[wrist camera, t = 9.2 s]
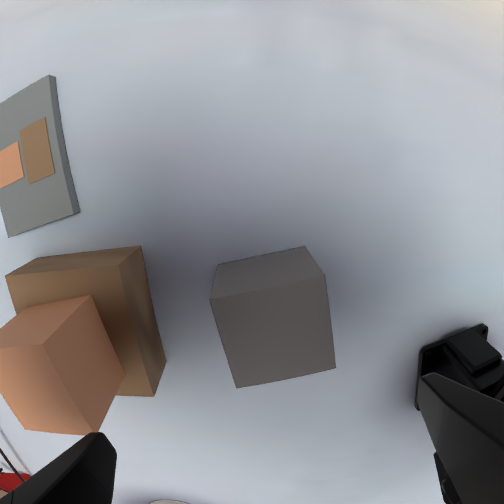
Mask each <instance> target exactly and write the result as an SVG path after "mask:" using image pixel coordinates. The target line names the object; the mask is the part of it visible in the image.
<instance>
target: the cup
mask: <svg viewBox="0 0 504 504" xmlns="http://www.w3.org/2000/svg"><path fill="white" fill-rule="evenodd" d="M150 504H188V503H184V502H180V501H173V500H157V501H154V502H151V503H150Z"/></svg>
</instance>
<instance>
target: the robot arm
mask: <svg viewBox="0 0 504 504" xmlns="http://www.w3.org/2000/svg"><path fill="white" fill-rule="evenodd" d="M487 335H488V327H487V326H486V325H485V324H481V325H479V326H477V327H474V328H472V329H470V330H467V331H465V332H462V333H460V334H457V335H455V336H452V337H450V338H447V339H444V340H442V341H439V342H436V343H434V344H431V345H428V346H426V347H424V348H423V349H422V350H421V351H420V359H419V371H418V382H417V391H416V400H415V407H416V409H417V410H418V411H421V413H422V416H423V418H424V421H425V423H426V426H427V429H428V431H429V434H430V436H431V439H432V442H433V444H434V447H435V449H436V452H435V453H434V459H435V463H436V468H437V472H438V477H439V482H440V486H441V491H442V495H443V500H444V502H445V503H446V504H504V361H503V360H502V355H501V354H500V353H499V352H498V351H497V350H496V349H495V348H494V347H492V346H491V345H490V344H489V343H488V342H487ZM427 352H428V353H427ZM426 353H427V354H426ZM116 460H117V453H116V450H115V448H114V447H113V446H112V444H111V443H110V441H109V440H108V439H107V437H106V436H105V434H103V433H102V432H90V433H88V434H87V435H86V436H85V437H83V438H82V439H81V440H79V441H78V442H77V443H75V444H74V445H73V446H72V447H70V448H69V449H68V450H66V451H65V452H64V453H62V454H61V455H60V456H58V457H57V458H56V459H54V460H53V461H52V462H50V463H49V464H48V465H46V466H45V467H44V468H42V469H41V470H40V471H38V472H37V473H36V474H34V475H33V476H31V477H30V478H29V479H27V480H26V481H25V482H23V483H22V484H20V485H19V486H18V487H16V488H15V489H14V490H12V491H11V492H9V493H8V494H7V495H5V496H3V497H2V498H1V499H0V504H111V503H112V497H113V490H114V479H115V469H116Z"/></svg>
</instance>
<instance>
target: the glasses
mask: <svg viewBox="0 0 504 504" xmlns="http://www.w3.org/2000/svg"><path fill="white" fill-rule="evenodd" d="M0 453H1V454H2V456H3V457H4V459H5V460H6V461H7V463H8V464H9V466H10V467H11V468H12V470H13V471H14V472H15V473H4V472H2V473H1V471H2V470H3V469H2V468H0V490H3V491H5V492H7V493H9V492H11V491H12V490H14V489H15V488H16V487H18V486H19V485H20V484H22V483H23V482H25V481H26V480H27V479H29V478H30V475H29V474H19V473H18V472H17V471H16V469H15V468H14V467H13V465H12V464H11V463H10V461H9V460H8V458H7V457H6V456H5V454H4V453H3V451H2V450H1V448H0Z"/></svg>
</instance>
